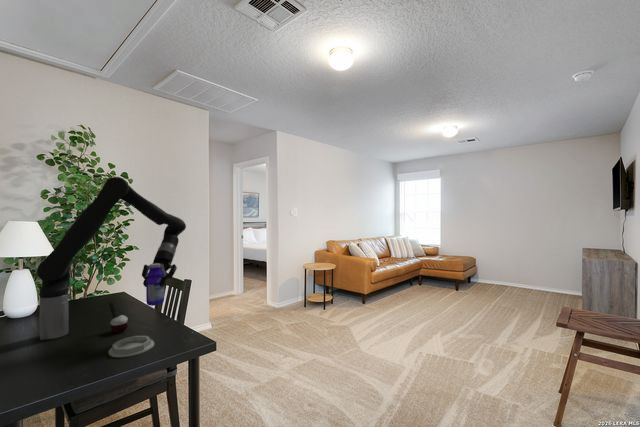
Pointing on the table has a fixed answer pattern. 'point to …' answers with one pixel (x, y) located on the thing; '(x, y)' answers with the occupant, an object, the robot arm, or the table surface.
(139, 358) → the table surface
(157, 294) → the bottle
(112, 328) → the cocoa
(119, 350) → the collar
